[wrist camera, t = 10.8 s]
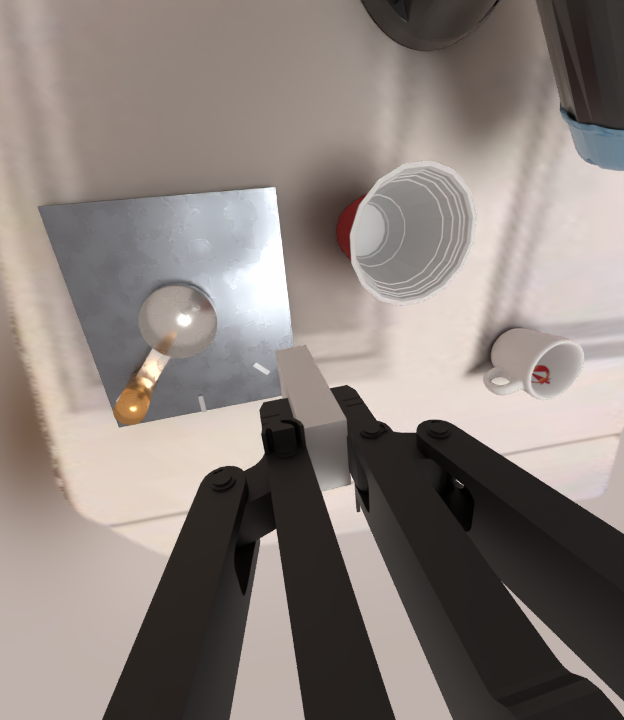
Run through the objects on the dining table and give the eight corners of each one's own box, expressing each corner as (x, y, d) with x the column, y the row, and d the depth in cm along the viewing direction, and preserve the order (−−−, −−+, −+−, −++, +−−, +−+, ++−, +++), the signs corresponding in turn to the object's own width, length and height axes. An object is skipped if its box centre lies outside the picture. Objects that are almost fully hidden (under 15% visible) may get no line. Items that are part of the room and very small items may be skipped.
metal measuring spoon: (164, 268, 33) (153, 279, 27) (230, 307, 36) (232, 324, 30) (102, 377, 35) (81, 407, 30) (169, 405, 38) (161, 438, 32)
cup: (473, 394, 51) (516, 424, 43) (458, 352, 47) (501, 376, 40) (536, 355, 51) (589, 378, 43) (525, 309, 47) (580, 326, 40)
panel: (45, 206, 30) (36, 206, 29) (272, 188, 34) (275, 187, 33) (122, 420, 39) (118, 428, 38) (296, 386, 43) (299, 392, 41)
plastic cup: (309, 281, 38) (344, 307, 28) (316, 171, 34) (361, 150, 24) (398, 284, 41) (462, 308, 30) (414, 182, 37) (494, 168, 26)
